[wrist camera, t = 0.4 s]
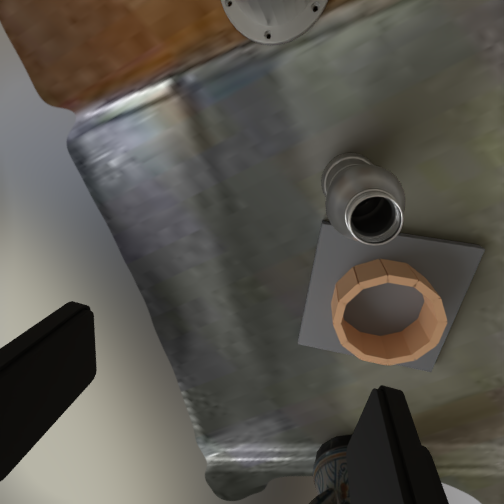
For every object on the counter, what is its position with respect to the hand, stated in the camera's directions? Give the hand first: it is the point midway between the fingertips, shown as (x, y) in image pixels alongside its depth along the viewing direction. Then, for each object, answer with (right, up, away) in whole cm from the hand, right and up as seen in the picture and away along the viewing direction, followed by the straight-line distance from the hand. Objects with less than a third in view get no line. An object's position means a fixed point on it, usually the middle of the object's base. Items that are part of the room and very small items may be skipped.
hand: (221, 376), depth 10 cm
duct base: (+19, -3, +34) cm, 39 cm away
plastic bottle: (+13, +14, +29) cm, 35 cm away
